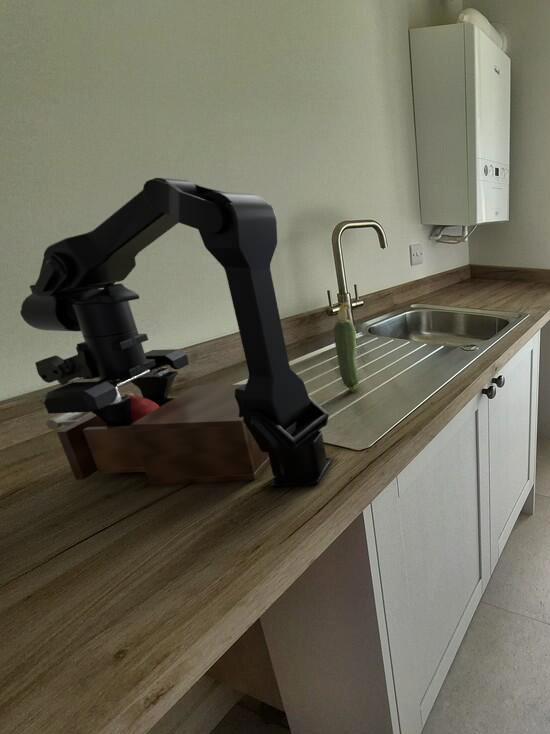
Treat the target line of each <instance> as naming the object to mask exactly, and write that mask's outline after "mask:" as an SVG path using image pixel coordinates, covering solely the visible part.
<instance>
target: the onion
mask: <svg viewBox="0 0 550 734" xmlns="http://www.w3.org/2000/svg"><path fill="white" fill-rule="evenodd" d="M133 394H134V393H131V392H129V393H125V394H124V396H123V397H127V396H130V397H131V421H132V423H134V422H135V421H137V420H139V419H141V418H142V417H144V416H146V415H147V414H149V413H151V412H152V411H154V410H156V409H157V408H159V406H158V405H157V404H156V403H155V402H153V401H151V400H149V399H147V398H143V396H139V395H138V396H136V395H133Z"/></svg>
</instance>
